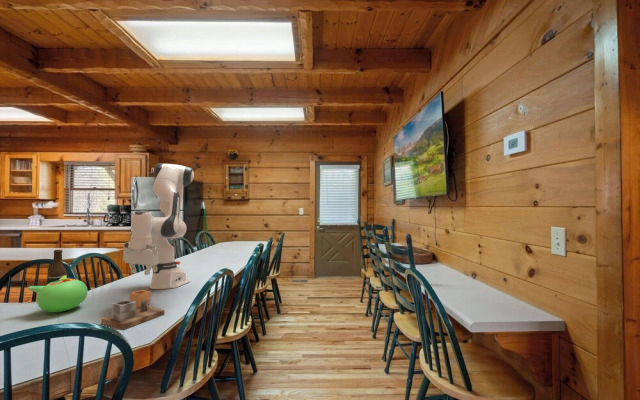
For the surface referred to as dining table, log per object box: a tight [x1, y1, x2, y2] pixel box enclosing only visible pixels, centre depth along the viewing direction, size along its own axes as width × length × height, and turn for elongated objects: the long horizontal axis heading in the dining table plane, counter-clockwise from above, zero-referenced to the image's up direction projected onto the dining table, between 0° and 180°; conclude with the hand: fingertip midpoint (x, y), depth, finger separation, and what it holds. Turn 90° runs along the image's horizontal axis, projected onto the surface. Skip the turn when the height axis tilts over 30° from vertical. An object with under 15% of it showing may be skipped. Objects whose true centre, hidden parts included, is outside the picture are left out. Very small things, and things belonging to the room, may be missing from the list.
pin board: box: [100, 299, 165, 330], centre depth 130 cm, size 18×14×8 cm
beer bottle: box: [47, 249, 68, 284], centre depth 158 cm, size 8×8×24 cm
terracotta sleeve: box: [129, 289, 151, 307], centre depth 148 cm, size 6×6×6 cm
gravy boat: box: [27, 275, 88, 313], centre depth 139 cm, size 18×17×15 cm
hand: (140, 273), depth 147 cm, fingers open, 8 cm apart
